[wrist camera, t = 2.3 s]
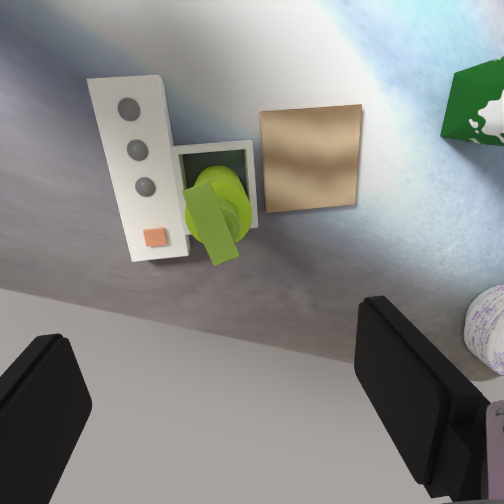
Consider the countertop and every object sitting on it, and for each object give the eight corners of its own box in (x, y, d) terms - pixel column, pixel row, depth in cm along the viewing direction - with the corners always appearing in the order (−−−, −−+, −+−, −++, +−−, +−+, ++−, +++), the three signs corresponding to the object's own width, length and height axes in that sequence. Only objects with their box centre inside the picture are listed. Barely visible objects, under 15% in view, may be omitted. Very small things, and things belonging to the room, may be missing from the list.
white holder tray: (97, 83, 32) (83, 77, 29) (244, 73, 33) (248, 67, 30) (138, 252, 40) (130, 263, 36) (256, 240, 41) (259, 249, 38)
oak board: (259, 112, 35) (261, 111, 34) (358, 104, 36) (361, 104, 35) (265, 211, 39) (266, 213, 39) (352, 202, 40) (355, 204, 39)
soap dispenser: (228, 149, 36) (240, 170, 18) (247, 202, 39) (274, 267, 20) (183, 166, 36) (149, 204, 18) (205, 217, 39) (195, 295, 21)
